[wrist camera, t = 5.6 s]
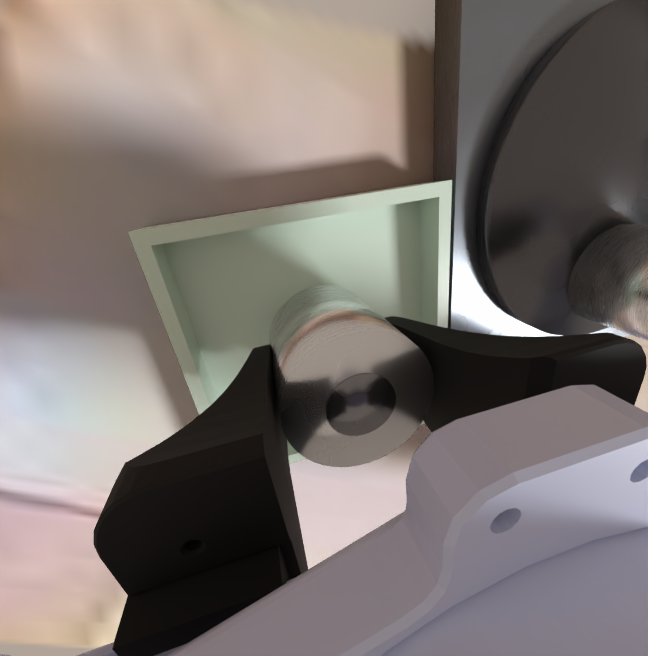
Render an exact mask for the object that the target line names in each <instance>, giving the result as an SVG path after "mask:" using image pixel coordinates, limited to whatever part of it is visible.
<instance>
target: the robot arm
mask: <svg viewBox="0 0 648 656" xmlns="http://www.w3.org/2000/svg"><path fill="white" fill-rule="evenodd" d="M385 319H386V320H387V321H388V322H389V323H391V324H392V325H393V326H394V327H395V328H397V329H398V330H399V331H400V332H401V333H403V334H404V335H405V336H406V337H407V338H409V339H410V340H411V341H412V342H413V343H415V344H416V345H417V346H418V347H419V348H420V349H421V350H422V351H423V353H424V354H425V356H426V357H427V359H428V361H429V363H430V365H431V368H432V372H433V378H434V391H433V397H432V401H431V404H430V407H429V410H428V412H427V414H426V416H425V418H424V420H423V421H424V422H425V424H426V425H427V426H428V428H429V429H430V430H431V432H432V433H431V434H430V435H429V436H428V437H427V439H426V440H425V441H424V442H423V443H422V444H421V445H420V446H419V448H418V449H417V450H416V451H415V452H414V454H413V456H412V460H411V463H410V467H409V470H408V474H407V477H406V493H407V504H406V510H405V512H403V513H401V514H399V515H398V516H396V517H394V518H393V519H391V520H389V521H388V522H386V523H385V524H383V525H381V526H380V527H378V528H376V529H375V530H373V531H371V532H370V533H368V534H366V535H365V536H363V537H361V538H360V539H358V540H357V541H355V542H353V543H352V544H350V545H348V546H347V547H345V548H343V549H342V550H340V551H338V552H337V553H335V554H333V555H332V556H330V557H329V558H327V559H325V560H324V561H322V562H320V563H319V564H317V565H315V566H314V567H312V568H310V569H309V570H308V566H307V561H306V556H305V550H304V545H303V540H302V534H301V529H300V524H299V518H298V513H297V507H296V502H295V496H294V491H293V485H292V480H291V474H290V467H289V459H288V445H287V438H286V437H285V435H284V432H283V429H282V425H281V420H280V414H279V408H278V401H277V395H276V389H275V382H274V375H273V365H272V355H271V349H270V344H269V345H264V346H260V347H256V348H253V350H252V351H251V353H250V355H249V356H248V358H247V360H246V362H245V363H244V365H243V367H242V368H241V370H240V371H239V373H238V374H237V376H236V377H235V379H234V380H233V381H232V383H231V384H230V385H229V386H228V388H227V389H226V390H225V391H224V392H223V393H222V394H221V395H220V397H219V398H218V399H217V400H216V401H215V402H214V403H213V404H212V405H210V406H209V407H208V408H207V409H206V410H205V411H203V412H202V413H201V414H200V415H199V416H198V417H196V418H195V419H194V420H193V421H192V422H190V423H189V424H188V425H186V426H185V427H184V428H182V429H181V430H179V431H178V432H176V433H175V434H173V435H172V436H171V437H169V438H168V439H166V440H164V441H163V442H161V443H160V444H158V445H156V446H154V447H153V448H151V449H149V450H148V451H146V452H144V453H142V454H141V455H139V456H137V457H135V458H134V459H132V460H130V461H128V462H126V463H125V464H124V466H123V468H122V470H121V472H120V474H119V476H118V478H117V480H116V482H115V484H114V486H113V488H112V491H111V493H110V495H109V497H108V500H107V502H106V504H105V506H104V508H103V511H102V513H101V515H100V517H99V520H98V522H97V524H96V527H95V529H94V546H95V548H96V550H97V553H98V555H99V557H100V558H101V560H102V561H103V562H104V564H105V565H106V566H107V568H108V569H109V570H110V572H111V573H112V574H113V576H114V577H115V579H116V580H117V581H118V583H119V584H120V585H121V587H122V588H123V589H124V591H125V592H126V593H127V595H128V597H127V601H126V604H125V607H124V611H123V614H122V617H121V621H120V624H119V628H118V631H117V634H116V638H115V641H114V642H113V643H111V644H108V645H105V646H102V647H99V648H96V649H94V650H91V651H88V652H85V653H82V654H80V655H77V656H648V413H647V412H645V411H643V410H641V409H639V408H637V407H636V406H634V404H635V402H636V399H637V396H638V393H639V390H640V387H641V384H642V381H643V379H644V375H645V371H646V356H645V353H644V351H643V349H642V346H640V345H639V344H638V343H637V342H635V341H633V340H630V339H627V338H625V337H622V336H619V335H616V334H614V333H592V334H579V335H566V336H504V335H490V334H481V333H473V332H466V331H460V330H455V329H449V328H444V327H440V326H435V325H431V324H427V323H423V322H419V321H415V320H411V319H407V318H402V317H396V316H390V317H386V318H385ZM0 656H10V655H3V654H0Z"/></svg>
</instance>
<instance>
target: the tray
mask: <svg viewBox="0 0 648 656" xmlns="http://www.w3.org/2000/svg"><path fill="white" fill-rule="evenodd" d="M451 201H452V180H446V181H436V182H427V183H419V184H413V185H407V186H400V187H394V188H388V189H381V190H375V191H369V192H363V193H356V194H350V195H344V196H338V197H331V198H325V199H319V200H313V201H306V202H300V203H294V204H287V205H281V206H275V207H269V208H262V209H256V210H250V211H244V212H237V213H231V214H225V215H219V216H212V217H206V218H200V219H193V220H187V221H181V222H175V223H168V224H162V225H156V226H150V227H145V228H141V229H137V230H133V231H129V232H128V234H129V237H130V240H131V242H132V245H133V247H134V250H135V252H136V255H137V257H138V260H139V263H140V265H141V268H142V270H143V273H144V275H145V278H146V280H147V283H148V286H149V288H150V291H151V293H152V296H153V298H154V301H155V303H156V306H157V309H158V311H159V314H160V316H161V319H162V321H163V324H164V326H165V329H166V332H167V334H168V337H169V339H170V342H171V344H172V347H173V349H174V352H175V355H176V357H177V360H178V362H179V365H180V367H181V370H182V372H183V375H184V377H185V380H186V383H187V385H188V388H189V390H190V393H191V395H192V398H193V400H194V403H195V406H196V408H197V411H198V413H199V415H200V414H201V413H202V412H203V411H205V410H206V409H207V408H208V407H209V406H210V405H212V404H213V403H214V402H215V401H216V400H217V399H218V398H219V397H220V395H221V394H222V393H223V392H224V391H225V390H226V389H227V388H228V386H229V385H230V384H231V383H232V381H233V380H234V379H235V377H236V376H237V374H238V373H239V371H240V370H241V368H242V367H243V365H244V363H245V362H246V360H247V358H248V356H249V355H250V353H251V351H252V350H253V348H256V347H260V346H264V345H269V343H268V337H269V330H270V326H271V323H272V321H273V318H274V317H275V315H276V313H277V312H278V310H279V309H280V308H281V306H282V305H283V304H284V303H285V302H286V301H287V300H288V299H290V298H291V297H292V296H294V295H295V294H297V293H299V292H301V291H303V290H305V289H308V288H312V287H316V286H326V285H330V286H337V287H341V288H344V289H347V290H349V291H351V292H353V293H354V294H356V295H357V296H358V297H360V298H361V299H362V300H363V301H364V302H366V303H367V304H368V305H369V306H370V307H372V308H373V309H374V310H375V311H376V312H378V313H379V314H380V315H381V316H382V317H384V318H386V317H390V316H396V317H402V318H407V319H411V320H415V321H419V322H423V323H427V324H431V325H435V326H440V327H444V328H448V300H449V267H450V234H451ZM423 424H425V422H424V421H422V423H421V424H420V425H423ZM287 445H288V459H289V464H291V463H294V462H298V461H301V460H304V459H307V458H305V457H304V456H302V455H300V454H299V453H298V452H297V451H296V450H295V449H294V448H293V447H292V446H291V445H290V443H289V442H288V440H287Z"/></svg>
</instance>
